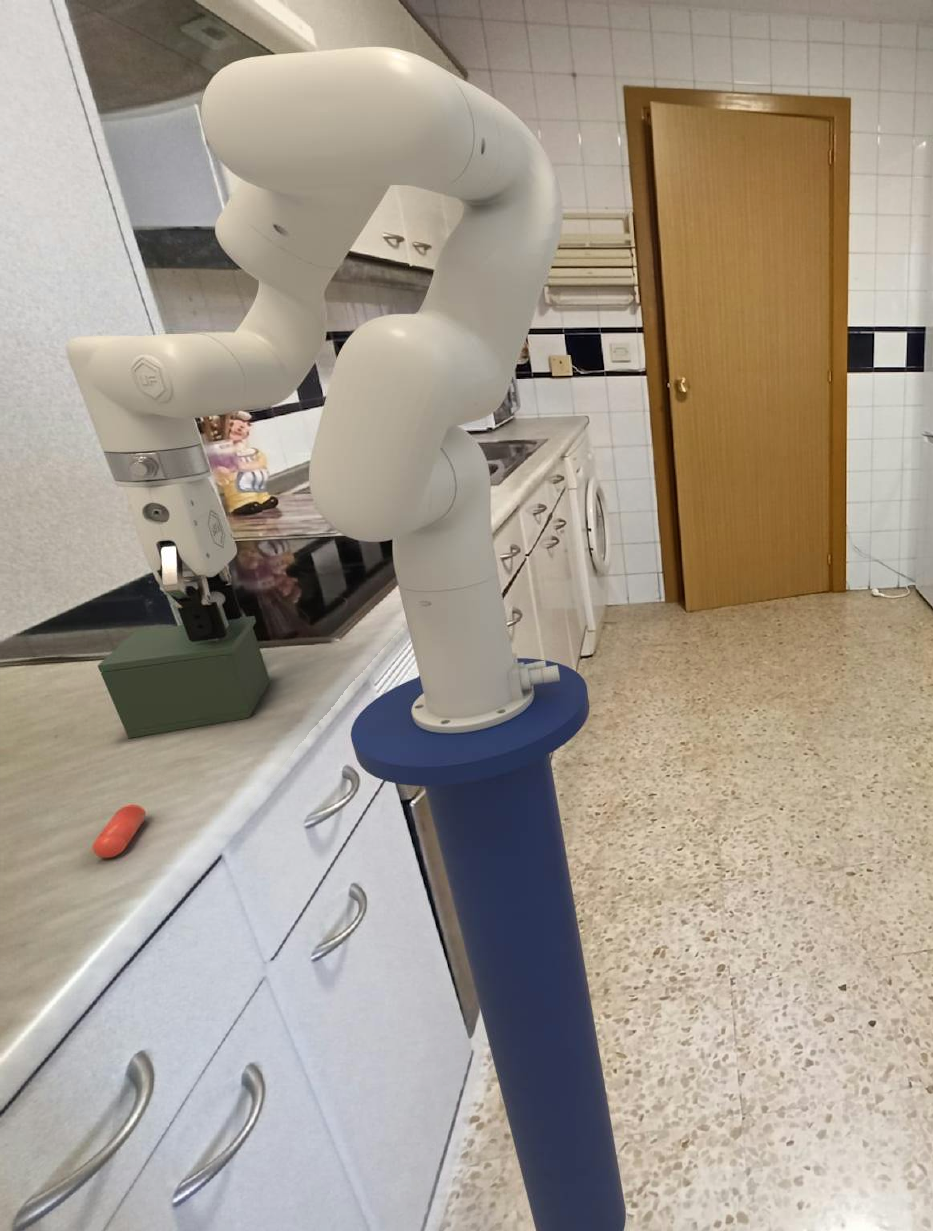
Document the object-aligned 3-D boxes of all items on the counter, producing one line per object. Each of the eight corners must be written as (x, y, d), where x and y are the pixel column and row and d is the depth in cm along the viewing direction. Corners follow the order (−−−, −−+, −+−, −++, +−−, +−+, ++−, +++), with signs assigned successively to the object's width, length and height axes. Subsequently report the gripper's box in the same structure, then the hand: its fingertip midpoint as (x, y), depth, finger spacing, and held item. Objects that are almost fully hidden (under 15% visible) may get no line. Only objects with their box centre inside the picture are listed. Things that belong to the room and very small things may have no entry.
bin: (270, 681, 88) (251, 622, 85) (249, 718, 80) (227, 655, 77) (162, 698, 84) (138, 637, 81) (128, 738, 76) (100, 673, 73)
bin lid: (256, 621, 85) (243, 582, 83) (233, 653, 77) (218, 610, 75) (137, 637, 81) (121, 595, 79) (99, 672, 73) (80, 627, 71)
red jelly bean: (124, 822, 63) (115, 803, 62) (152, 816, 64) (144, 797, 63) (93, 866, 58) (83, 846, 57) (124, 859, 59) (115, 839, 58)
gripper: (176, 478, 67) (236, 653, 74) (230, 450, 81) (276, 598, 88) (71, 484, 64) (144, 666, 71) (146, 454, 78) (201, 607, 85)
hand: (217, 627), depth 79 cm, fingers closed on bin lid, 5 cm apart
